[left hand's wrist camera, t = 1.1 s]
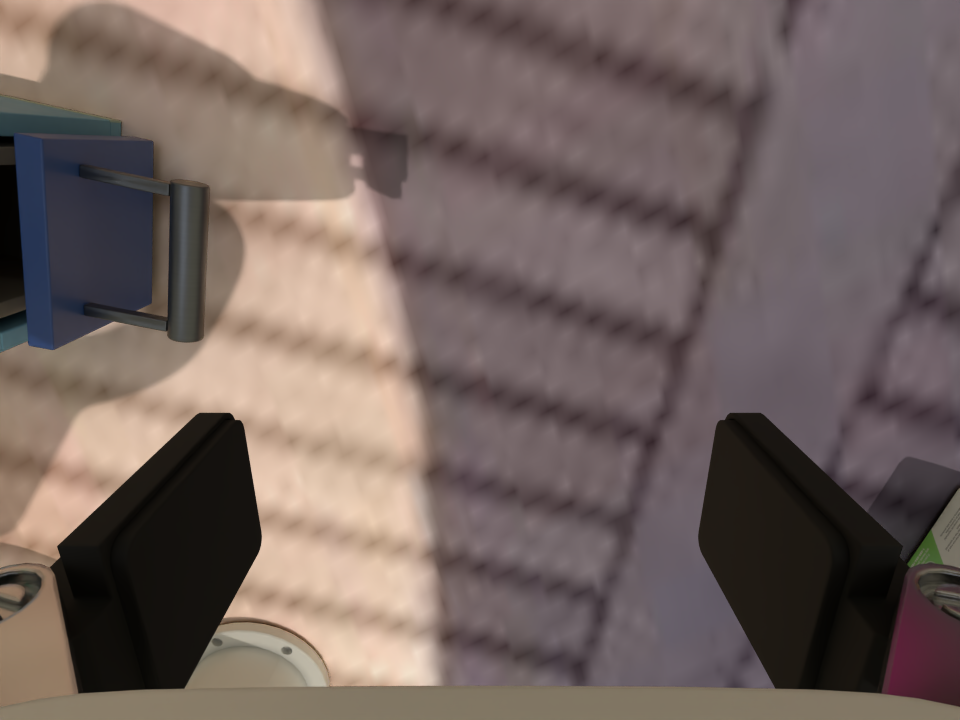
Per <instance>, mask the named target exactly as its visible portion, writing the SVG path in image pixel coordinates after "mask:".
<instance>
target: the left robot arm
mask: <svg viewBox="0 0 960 720" xmlns="http://www.w3.org/2000/svg"><path fill="white" fill-rule="evenodd" d="M261 540H262V534H261V527H260V521H259V515H258V509H257V503H256V497H255V491H254V485H253V479H252V473H251V467H250V461H249V455H248V448H247V442H246V436H245V430H244V426H243V423H242V422H241V421H240V420H235V419H234V417H233V415H232V414H230V413H199V414H197V415H196V416H195V417H194V418H193V419H191V420H190V421H189V422H188V423H187V424H186V425H185V426H184V427H183V428H182V429H181V430H180V431H179V432H178V433H177V434H176V435H175V436H173V437H172V438H171V439H170V440H169V441H168V442H167V443H166V444H165V445H164V446H163V447H162V448H161V449H160V450H159V451H158V452H157V453H155V454H154V455H153V456H152V457H151V458H150V459H149V460H148V461H147V462H146V463H145V464H144V465H143V466H142V467H141V468H140V469H139V470H137V471H136V472H135V473H134V474H133V475H132V476H131V477H130V478H129V479H128V480H127V481H126V482H125V483H124V484H123V485H122V486H121V487H120V488H118V489H117V490H116V491H115V492H114V493H113V494H112V495H111V496H110V497H109V498H108V499H107V500H106V501H105V502H104V503H103V504H102V505H100V506H99V507H98V508H97V509H96V510H95V511H94V512H93V513H92V514H91V515H90V516H89V517H88V518H87V519H86V520H85V521H84V522H82V523H81V524H80V525H79V526H78V527H77V528H76V529H75V530H74V531H73V532H72V533H71V534H70V535H69V536H68V537H67V538H66V539H64V540H63V541H62V542H61V543H60V544H59V545H58V546H57V547H58V551H59V554H60V558H59V559H58V560H57V561H56V562H55V563H54V564H53V565H52V566H51V567H50V568H49V567H47V566H44V565H42V564H32V563H24V564H17V565H9V566H6V567H2V568H0V720H960V568H958V567H954V566H951V565H943V564H936V563H928V564H918V565H916V566H913V567H911V568H910V567H909V566H908V565H907V564H906V563H905V562H904V561H903V560H902V559H901V558H900V554H901V551H902V547H903V546H902V545H901V544H900V543H899V542H898V541H897V540H896V539H894V538H893V537H892V536H891V535H890V534H889V533H888V532H887V531H886V530H885V529H884V528H883V527H882V526H881V525H880V524H879V523H878V522H876V521H875V520H874V519H873V518H872V517H871V516H870V515H869V514H868V513H867V512H866V511H865V510H864V509H863V508H862V507H861V506H860V505H858V504H857V503H856V502H855V501H854V500H853V499H852V498H851V497H850V496H849V495H848V494H847V493H846V492H845V491H844V490H843V489H842V488H840V487H839V486H838V485H837V484H836V483H835V482H834V481H833V480H832V479H831V478H830V477H829V476H828V475H827V474H826V473H825V472H824V471H822V470H821V469H820V468H819V467H818V466H817V465H816V464H815V463H814V462H813V461H812V460H811V459H810V458H809V457H808V456H807V455H806V454H805V453H803V452H802V451H801V450H800V449H799V448H798V447H797V446H796V445H795V444H794V443H793V442H792V441H791V440H790V439H789V438H788V437H787V436H785V435H784V434H783V433H782V432H781V431H780V430H779V429H778V428H777V427H776V426H775V425H774V424H773V423H772V422H771V421H770V420H769V419H767V418H766V417H765V416H764V415H763V414H761V413H730V414H728V415H727V417H726V419H725V420H720V421H719V422H718V423H717V426H716V430H715V436H714V442H713V448H712V454H711V461H710V467H709V473H708V479H707V485H706V491H705V497H704V503H703V509H702V515H701V521H700V527H699V534H698V540H699V547H700V550H701V553H702V555H703V557H704V558H705V560H706V562H707V564H708V566H709V568H710V569H711V571H712V573H713V575H714V577H715V579H716V580H717V582H718V584H719V586H720V588H721V590H722V591H723V593H724V595H725V597H726V599H727V601H728V602H729V604H730V606H731V608H732V610H733V612H734V613H735V615H736V617H737V619H738V621H739V623H740V624H741V626H742V628H743V630H744V632H745V634H746V635H747V637H748V639H749V641H750V643H751V645H752V646H753V648H754V650H755V652H756V654H757V656H758V657H759V659H760V661H761V663H762V665H763V667H764V668H765V670H766V672H767V674H768V676H769V678H770V679H771V681H772V683H773V685H774V687H775V689H760V688H710V687H624V686H336V687H330V680H329V676H328V671H327V669H326V667H325V665H324V663H323V661H322V659H321V658H320V657H319V655H318V654H317V653H316V652H315V650H314V649H312V648H311V647H310V646H309V645H308V644H307V643H306V642H304V641H303V640H301V639H300V638H298V637H297V636H295V635H293V634H292V633H289V632H287V631H285V630H282V629H280V628H277V627H273V626H270V625H266V624H260V623H251V622H241V623H230V624H224V625H219V624H220V623H221V621H222V619H223V617H224V615H225V613H226V612H227V610H228V608H229V606H230V604H231V602H232V601H233V599H234V597H235V595H236V593H237V591H238V590H239V588H240V586H241V584H242V582H243V580H244V579H245V577H246V575H247V573H248V571H249V569H250V568H251V566H252V564H253V562H254V560H255V558H256V557H257V555H258V553H259V550H260V547H261Z"/></svg>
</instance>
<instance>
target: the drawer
mask: <svg viewBox="0 0 960 720" xmlns="http://www.w3.org/2000/svg"><path fill="white" fill-rule="evenodd" d="M153 193H155V194H160V195H165V196H170V230H169V279H168V317H163V316H158V315H153V314H148V313H143V312H138V311H137V310H139V309H141V308H143V307H145V306H147V305H150V304H151V303H152V231H153ZM209 199H210V187H209V186H208V185H206V184H203V183H200V182H195V181H189V180H179V179H175V180H171V182H167V181H162V180H158V179H153V141H151V140H146V139H142V138H137V137H130V136H102V135H74V134H45V133H17V132H16V133H14V136H0V318H3V317H6V316H9V315H11V314H14V313H17V312H20V311H23V310H25V309H26V318H27V332H28V345H29V346H34V347H39V348H44V349H50V350H55V349H57V348H59V347H61V346H63V345H65V344H67V343H69V342H71V341H74V340H76V339H78V338H80V337H82V336H84V335H86V334H88V333H90V332H93V331H95V330H97V329H99V328H101V327H103V326H105V325H107V324H109V323H112V322H114V321H115V322H120V323H125V324H130V325H135V326H140V327H145V328H151V329H156V330H161V331H167V336H168V338H170V339H171V340H174V341H178V342H197V341H200V340H202V339H203V335H204V313H205V290H206V267H207V245H208V222H209Z"/></svg>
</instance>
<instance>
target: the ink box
mask: <svg viewBox="0 0 960 720" xmlns="http://www.w3.org/2000/svg"><path fill="white" fill-rule="evenodd" d="M928 563H936V564H943V565H951V566H954V567H958V568H960V488H959V489H958V490H957V492H956V493H955V495H954V496H953V498H952V499H951V501H950V502H949V504H948V505H947V507H946V508H945V510H944V511H943V512H942V514H941V515H940V517H939V518H938V520H937V521H936V523H935V524H934V526H933V527H932V529H931V530H930V532H929V533H928V535H927V536H926V538H925V539H924V540H923V542H922V543H921V545H920V546H919V548H918V549H917V551H916V552H915V554H914V555H913V556H912V558H911V559H910V561H909V562H908V564H907V565H908V566H909V567H910V568H911V567H913V566H916V565H918V564H928Z"/></svg>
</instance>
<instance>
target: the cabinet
mask: <svg viewBox="0 0 960 720" xmlns="http://www.w3.org/2000/svg"><path fill="white" fill-rule="evenodd" d="M16 132H17V133H45V134H74V135H102V136H121V121H119V120H115V119H110V118H106V117H101V116H97V115H92V114H88V113H83V112H79V111H74V110H70V109H65V108H60V107H56V106H51V105H47V104H42V103H38V102H33V101H29V100H24V99H20V98H15V97H11V96H6V95H2V94H0V136H14V133H16ZM26 341H28V332H27V318H26V309H25V310H23V311H20V312H17V313H14V314H11V315H9V316H6V317H3V318H0V353H1V352H2V351H5V350H8V349H10V348H12V347H15V346H17V345H19V344H22V343H24V342H26Z"/></svg>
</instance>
